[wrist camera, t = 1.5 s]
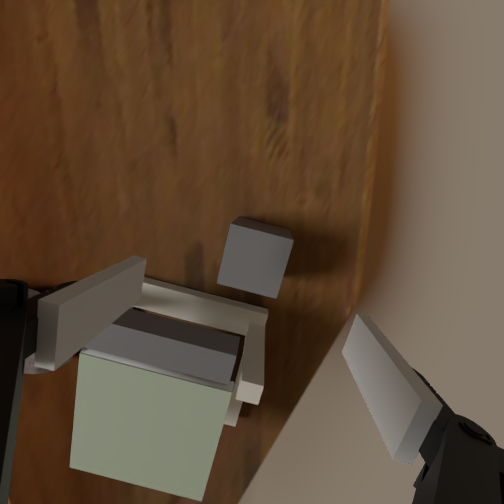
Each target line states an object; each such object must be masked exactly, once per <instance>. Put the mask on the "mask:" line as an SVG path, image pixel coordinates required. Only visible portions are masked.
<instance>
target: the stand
mask: <svg viewBox="0 0 504 504" xmlns="http://www.w3.org/2000/svg"><path fill="white" fill-rule="evenodd" d="M133 307H137V308H141V309H145V310H149V311H153V312H156V313H160V314H164V315H168V316H172V317H176V318H179V319H183V320H187V321H191V322H195V323H199V324H202V325H206V326H210V327H214V328H218V329H222V330H226V331H229V332H233V333H237V334H241V335H245V342H244V348H243V354H242V358H241V362H240V365H239V369H238V372H237V376H236V379H235V383H234V387H233V391H232V395H231V399H230V402H229V406H228V409H227V413H226V417H225V421H224V424H227V425H231V426H236V422H237V419H238V416H239V412H240V409H241V406H242V402H243V401H244V402H248V403H252V404H256V405H258V404H259V401H260V397H261V394H262V391H263V388H264V358H265V324H266V321H267V318H268V309H266V308H262V307H258V306H254V305H250V304H247V303H243V302H239V301H235V300H231V299H227V298H224V297H220V296H216V295H212V294H208V293H204V292H201V291H197V290H193V289H189V288H185V287H181V286H177V285H174V284H170V283H166V282H162V281H158V280H154V279H151V278H147V277H144V279H143V285H142V291H141V298H140V300H139V301H138V302H137V303H135V304H134V305H133V306H132V307H131V308H130V309H133Z"/></svg>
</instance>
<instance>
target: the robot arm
mask: <svg viewBox="0 0 504 504" xmlns="http://www.w3.org/2000/svg"><path fill="white" fill-rule="evenodd" d="M146 260H147V259H146V258H142V257H139V256H135V255H134V256H132V257H130V258H128V259H126V260H124V261H121V262H119V263H117V264H115V265H113V266H111V267H108V268H106V269H104V270H102V271H100V272H98V273H95V274H93V275H91V276H89V277H87V278H85V279H82V280H80V281H72V282H67V283H63V284H61V285H58V286H56V287H54V288H51V289H49V290H47V291H46V292H42V293H40V294H38V295H35V296H33V297H31V298H29V299H28V288H29V286H28V284H27V283H26V282H24V281H20V280H15V279H0V504H7V503H8V495H9V487H10V479H11V471H12V464H13V456H14V448H15V440H16V432H17V424H18V416H19V408H20V400H21V392H22V384H23V376H24V368H25V359H26V358H28V357H29V356H31V355H32V354H33V353H35V363H34V366H37V367H41V368H44V369H48V370H52V371H55V370H56V369H57V368H58V367H60V366H61V365H62V364H63V363H64V362H66V361H67V360H68V359H69V358H70V357H72V356H73V355H74V354H75V353H76V352H78V351H79V350H80V349H81V348H82V347H84V346H85V345H86V344H87V343H88V342H90V341H91V340H92V339H93V338H94V337H96V336H97V335H98V334H99V333H101V332H102V331H103V330H104V329H105V328H107V327H108V326H109V325H110V324H111V323H113V322H114V321H115V320H116V319H117V318H119V317H120V316H121V315H122V314H123V313H125V312H126V311H127V310H128V309H129V308H131V307H132V306H133V305H134V304H135V303H137V302H138V301H139V300H140V298H141V291H142V285H143V279H144V273H145V267H146ZM342 353H343V356H344V358H345V360H346V362H347V364H348V366H349V368H350V371H351V373H352V375H353V377H354V379H355V381H356V383H357V385H358V387H359V390H360V391H361V394H362V396H363V398H364V400H365V402H366V404H367V406H368V409H369V411H370V413H371V415H372V417H373V419H374V421H375V423H376V425H377V428H378V429H379V432H380V434H381V436H382V438H383V440H384V442H385V444H386V447H387V448H388V451H389V453H390V455H391V457H392V459H393V460H397V461H401V462H404V463H408V464H413V462H414V460H415V458H416V457H417V455H418V453H419V452H420V454H421V456H422V457H423V459H424V461H425V464H424V466H423V468H422V470H421V472H420V474H419V476H418V477H417V479H416V481H415V483H414V485H413V486H414V487H415V488H416V491H415V495H414V499H413V503H412V504H504V449H502V448H500V447H498V446H497V445H496V443H495V440H494V439H493V438H492V437H491V436H490V435H489V433H487V432H486V431H485V430H484V429H483V428H482V427H480V426H479V425H477V424H476V423H475V422H473V421H471V420H469V419H467V418H466V417H463V416H460V415H457V414H455V413H454V412H453V411H452V410H451V408H450V407H449V406H448V405H447V404H446V403H445V401H443V399H442V398H441V397H440V396H439V394H437V393H436V391H435V390H434V389H433V387H432V386H430V384H429V383H428V382H427V381H426V379H425V378H424V377H423V376H422V375H421V374H420V373H418V372H417V371H416V370H415V369H413V368H412V367H410V365H409V364H408V363H407V362H406V361H405V359H404V358H403V357H402V356H401V354H400V353H399V352H398V351H397V350H396V349H395V347H394V346H393V345H392V344H391V342H390V341H389V340H388V339H387V338H386V336H385V335H384V334H383V333H382V332H381V331H380V329H379V328H378V327H377V326H376V324H375V323H374V322H373V321H372V320H371V318H370V317H368V316H365V315H360V314H357V315H356V317H355V320H354V322H353V325H352V327H351V330H350V332H349V335H348V338H347V340H346V343H345V346H344V348H343V351H342Z"/></svg>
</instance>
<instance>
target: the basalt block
mask: <svg viewBox="0 0 504 504" xmlns="http://www.w3.org/2000/svg"><path fill="white" fill-rule="evenodd" d="M293 242H294V239H293V237H292V235H291V234H290V232H289V230H288V229H285V228H281V227H278V226H274V225H270V224H266V223H262V222H258V221H255V220H251V219H247V218H243V217H238V218H236V219H235V220H234V221H233V222H232V223H231V224H230V228H229V233H228V237H227V241H226V245H225V250H224V254H223V258H222V263H221V267H220V271H219V275H218V280H217V284H221V285H225V286H229V287H233V288H236V289H240V290H244V291H248V292H252V293H256V294H259V295H263V296H267V297H271V298H275V299H277V295H278V292H279V289H280V285H281V282H282V279H283V275H284V272H285V269H286V265H287V262H288V259H289V255H290V252H291V249H292V245H293Z"/></svg>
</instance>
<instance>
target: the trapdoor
mask: <svg viewBox="0 0 504 504" xmlns="http://www.w3.org/2000/svg"><path fill="white" fill-rule="evenodd" d="M239 341H240V337H238V336H234V335H230V334H226V333H222V332H218V331H215V330H211V329H207V328H203V327H199V326H195V325H192V324H188V323H184V322H180V321H176V320H172V319H168V318H165V317H161V316H157V315H153V314H149V313H145V312H142V311H138V310H134V309H130V308H129V309H128V310H127V311H126V312H125V313H123V314H122V315H121V316H120V317H119V318H117V319H116V320H115V321H114V322H113V323H111V324H110V325H109V326H108V327H107V328H105V329H104V330H103V331H102V332H101V333H99V334H98V335H97V336H96V337H94V338H93V339H92V340H91V341H90V342H88V343H87V344H86V345H85V346H84V347H82V349H81V353H80V356H79V367H78V378H77V390H76V401H75V412H74V424H73V435H72V446H71V458H70V467H71V468H74V469H78V470H82V471H86V472H90V473H94V474H98V475H101V476H105V477H109V478H113V479H117V480H121V481H125V482H128V483H132V484H136V485H140V486H144V487H148V488H152V489H155V490H159V491H163V492H167V493H171V494H175V495H178V496H182V497H186V498H190V499H194V500H198V501H202V498H203V495H204V491H205V488H206V484H207V480H208V477H209V473H210V470H211V466H212V463H213V459H214V456H215V452H216V449H217V445H218V441H219V438H220V434H221V431H222V427H223V424H224V420H225V417H226V413H227V409H228V406H229V402H230V399H231V395H232V391H233V387H234V382H233V381H230V378H231V375H232V371H233V368H234V364H235V360H236V357H237V352H238V346H239Z"/></svg>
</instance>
